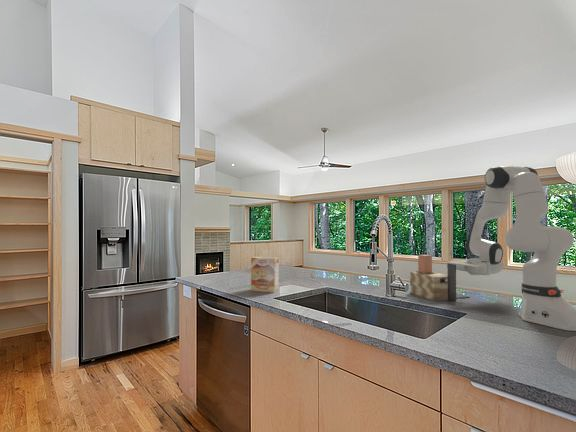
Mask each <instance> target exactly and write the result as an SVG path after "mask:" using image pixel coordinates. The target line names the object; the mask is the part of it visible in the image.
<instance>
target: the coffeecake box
mask: <svg viewBox="0 0 576 432" xmlns="http://www.w3.org/2000/svg"><path fill="white" fill-rule="evenodd" d="M279 259H280V258H279V257H273V256H272V257H271V256H252V257H251V259H250V261H251V263H250V291H251V292H261V293H262V292H263V293H273V294H274V293H277V292H278V291H279V279H280V278H279V276H280V275H279V272H280V271H279V269H280V267H279V266H280V263H279Z"/></svg>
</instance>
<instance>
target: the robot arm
mask: <svg viewBox="0 0 576 432" xmlns="http://www.w3.org/2000/svg"><path fill="white" fill-rule="evenodd" d="M538 175H539V174H538V172H537V170H536V169H534V168H532V167H528V166H524V167H523V166H514V165H503V166H493V167H492V166H491V167H490V168H488V169H487V171H486V172H485V174H484V183H485V185H486V187H485V191H484V196H483V199H482V205H481V207H480V209H478V210H477V211H476V213H475V215H474V217H473V220H472V224H471V227H470V231H469V235H468V237H467V239H466V241H465V246H464V248H465V250H466V252H467V254H469V255H471V256H477V257H473V258H468V259H467V260H466V261H465V262H463V261H447V262H446V268H447V269H448V264H447V263H451V264H456V271H460V272H461V271H462V272H467V273H468V274H469V275H471V276H490V275H494V274H495V275H496V274H499V273H500V272H502V271H503V269H504V262H503V260H502V259H503V257H504V250H503V247H502V245H501V244H500V243H498V242H495V241H491V240H487V239H483V238H482V234H483V231H484V227H485V224H486V223H487V222H488V221H491V220H496V219H499V218H502V217H503V216H505V215H506V214H507V212H508V209H509V205H510V195H511V193H512V195H513V201H514V207H515V220H514V221H515V222H514V224H513V225H512V226H511V227H510V228H509V229H507V232H506V234H505V236H504V241H505V243H506V246H507V247H508V248H509V249H511V250H512V251H517V252H522V253H533V256H532V257H531V258H530V260H528V261H526V262H524V264H523V265H522V282H521V294H522V296H521V303H520V305H521V306H520V308H519V312H518V316H519V317H520V319H521V320H522V321H526V322H528V323H529V322H530V323H533V324H534V323H535V324H538V325H542V326H546V327H551V328H554V329H558V330H559V329H560V330H563V331H569V332H571V331H573V332H574V331H575V332H576V307H575V306H573V305H572V304H571V303H570V302H568V301H567V300H566V299H565V298H564V297H562V294H561V293H563V294H564V291H565V289H560V288H559V287H558V286H557V269H558V265H559V262H560V261H561V258H562V257H563V256H564V254H565V253H566V252H567V251H568V250H570V249H571V248H572V247H573V245H574V242H575V238H574V235H573V233H572V232H571V231H570V230H569V229H568V228H565V227H564V228H563V227H559V226H553V225H552V226H541V225H540V223H541V222H540V221H541V218H543V217H544V216H545V215H547V213H548V212H549V205H548V202H547V198H546V197H547V196H546V194H545V189H544V186H543V184H542V182H541V179H540V177H539V176H538Z"/></svg>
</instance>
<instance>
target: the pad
mask: <svg viewBox="0 0 576 432" xmlns="http://www.w3.org/2000/svg"><path fill="white" fill-rule="evenodd" d="M469 297H470V296H469V295H466V294H461V293H457V292H456V300H457V299H458V298H460V299H469Z"/></svg>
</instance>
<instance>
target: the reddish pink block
mask: <svg viewBox="0 0 576 432" xmlns="http://www.w3.org/2000/svg"><path fill="white" fill-rule="evenodd" d="M417 256H418V258H417V259H418V260H417V261H418V263H417V267H418V269H417V271H418V272H423V273H432V272H433V255H430V254H417Z"/></svg>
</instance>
